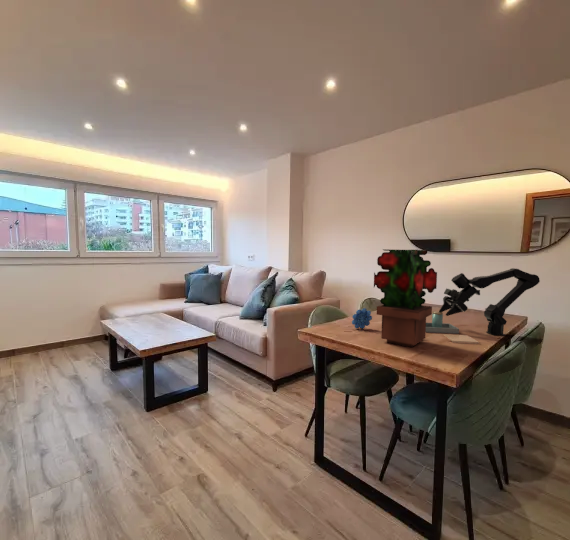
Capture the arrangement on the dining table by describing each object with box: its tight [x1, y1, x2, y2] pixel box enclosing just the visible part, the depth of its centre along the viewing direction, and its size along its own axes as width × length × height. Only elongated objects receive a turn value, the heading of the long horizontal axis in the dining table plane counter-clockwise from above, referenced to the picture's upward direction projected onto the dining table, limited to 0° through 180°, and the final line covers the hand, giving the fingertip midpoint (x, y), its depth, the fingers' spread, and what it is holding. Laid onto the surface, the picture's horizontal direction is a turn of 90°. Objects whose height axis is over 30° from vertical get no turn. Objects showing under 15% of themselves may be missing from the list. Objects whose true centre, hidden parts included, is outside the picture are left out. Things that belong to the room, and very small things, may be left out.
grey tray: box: [426, 322, 460, 335], centre depth 166 cm, size 18×12×4 cm, turn 83°
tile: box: [442, 333, 480, 345], centre depth 150 cm, size 12×12×1 cm
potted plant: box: [373, 248, 438, 348], centre depth 144 cm, size 22×22×45 cm
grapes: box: [351, 307, 373, 330], centre depth 170 cm, size 12×7×12 cm, turn 93°
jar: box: [431, 310, 444, 328], centre depth 166 cm, size 5×5×10 cm
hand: (442, 313), depth 165 cm, fingers open, 9 cm apart
